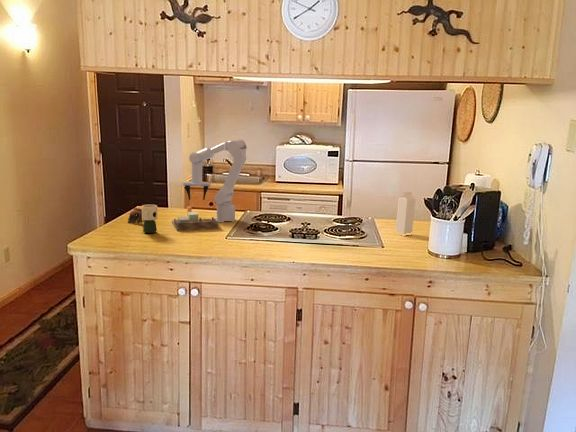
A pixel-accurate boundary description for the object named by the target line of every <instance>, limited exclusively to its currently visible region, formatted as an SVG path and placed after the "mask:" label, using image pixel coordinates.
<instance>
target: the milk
mask: <svg viewBox="0 0 576 432" xmlns="http://www.w3.org/2000/svg"><path fill="white" fill-rule="evenodd" d="M397 201H398V202H397V210H396V212H397V213H396V222H395V231H396V232H400V233H403V234H406V233H411V232H412V233H413V227H414V217H415V210H416V209H415V207H416V198H415V197H414V196H413V194H412V191H407V192H403V193H402V196H399V197H398V200H397Z"/></svg>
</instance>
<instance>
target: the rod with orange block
mask: <svg viewBox="0 0 576 432" xmlns="http://www.w3.org/2000/svg"><path fill="white" fill-rule="evenodd" d="M186 217H187V218H189V220H190V221H191V222H198V219H199V213H198V212H197V211H192V206H186Z"/></svg>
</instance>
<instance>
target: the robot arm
mask: <svg viewBox="0 0 576 432" xmlns="http://www.w3.org/2000/svg"><path fill="white" fill-rule="evenodd" d="M247 148H248V146H247V144H246V142H245V141H244V140H243V139H240V138H239V139H234V140H233V139H231V140H228V141H224V142H221V143H220V144H217V145H216V146H214V147H211V146H205V147H204V148H202V149H199V150H197V152H191V153H190V155H189V157H188V159H189V162H190V163H191V168H190V169H191V170H190V171H191V180H190V181H184V182H182V187H184V189H185V192H186V193H187V198H188V200H191V187H203V188H202V189H203V196H202V197H203V199H202V200H203V201H205V198H206V194H207V192H208V189H209V187H210V188H211V182H205V181H204V182H203V165H204V162H205V161H207V160H210V159H212V158H213V157H215V154H218V153H220V152H223V151H228V152H229V154H230V155H231V156H232V158H233V162H232V165H231V167H230V169H229V172H228V174H227V177H226V178H225V181H224V183H223V185H222V186H221V188H219V189H218V191H217V193H216V194H214V198H213V199H214V202H215V203H216V217H214V219H215V220H216V221H218V223H223V222H224V221H232V222H236V206H235V204H234V203H231V202H232V201H233V198H234V193H235V191H234V188H235V185H236V183H237V181H238V178H239V177H240V174H241V172H242V170H243V168H244V165H245V163H246V160H247ZM224 223H225V222H224Z"/></svg>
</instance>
